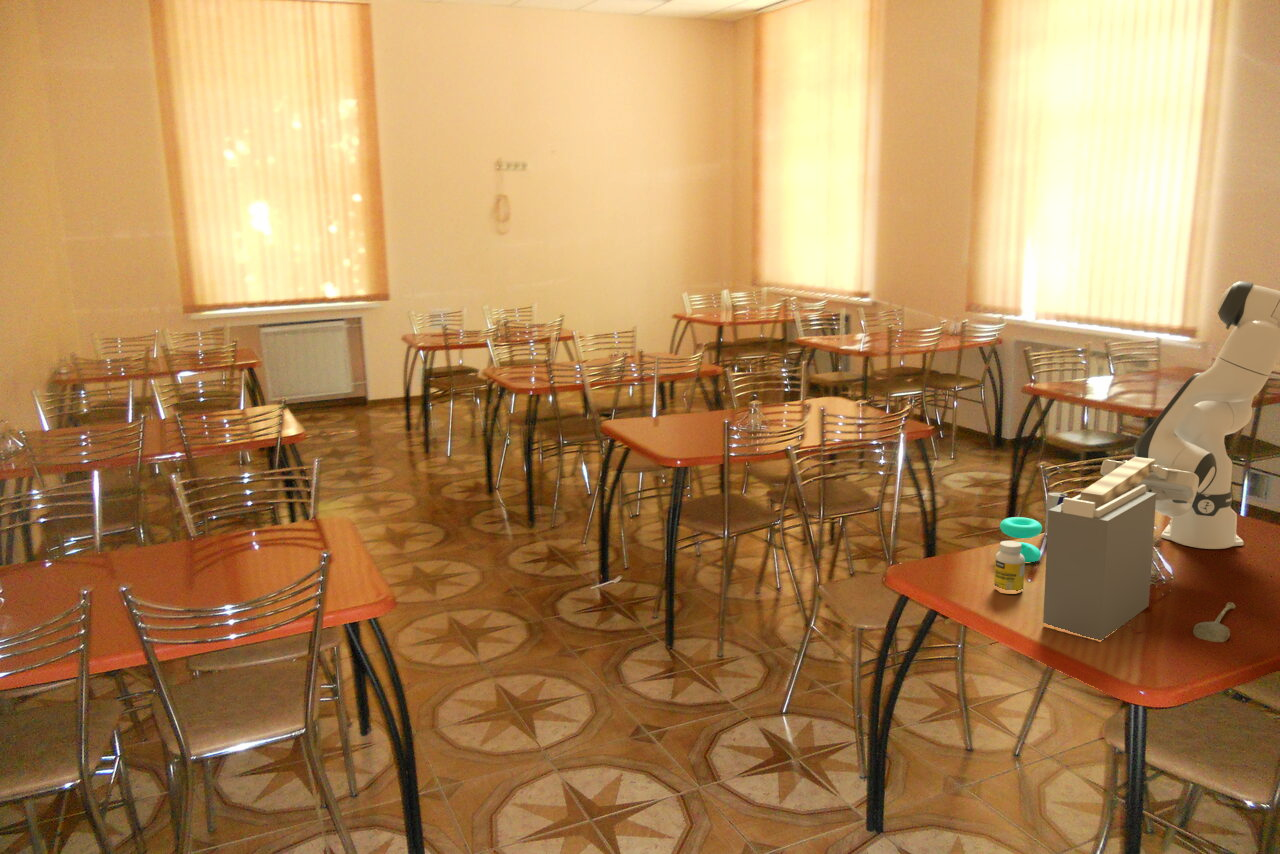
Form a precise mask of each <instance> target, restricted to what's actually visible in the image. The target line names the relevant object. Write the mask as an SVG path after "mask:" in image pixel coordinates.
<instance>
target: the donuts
mask: <svg viewBox="0 0 1280 854" xmlns="http://www.w3.org/2000/svg"><path fill="white" fill-rule="evenodd" d="M999 528H1000V530H1001V532H1002V533H1004V534H1005V535H1006V536H1008V537H1011V538H1015V539H1032V538H1035V537H1037V536H1039V535H1040V534H1041V532H1042V531H1043V526H1042V524H1041V522H1039V521H1038V520H1037V519H1036V520H1035V519H1034V518H1028V517H1022V516H1019V517H1018V516H1014V517H1013V516H1012V517H1007V518H1004V519H1003V520H1001V522H1000V524H999ZM1018 542H1019V543H1021V551H1020V553H1021V554H1022V555H1023V556H1024V558H1025V562H1034V563H1036V562H1038V561H1039V560H1040V559H1041V556H1042V553H1041V550H1040V549H1039V548H1038V547H1037V546H1035V545H1034V544H1031V543H1028V542H1021V541H1018ZM1000 551H1001V549H1000V548H999V551H998V552H1000ZM1035 561H1036V562H1035Z"/></svg>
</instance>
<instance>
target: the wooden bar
mask: <svg viewBox="0 0 1280 854" xmlns="http://www.w3.org/2000/svg"><path fill="white" fill-rule="evenodd" d="M1126 461H1127V462H1126V463H1124V464H1123V465H1121V466H1120V467H1118V468H1117V469H1115V470H1114V471H1112V472H1111V473H1109V474H1107V475H1106V476H1103V477H1101V478H1100V479H1098V480H1097V481H1095V482H1094V483H1092V484H1090V485H1089V486H1087V487H1086V488H1084V489H1083V490H1081V491H1080V494H1081V497H1080V500H1083V501H1089V502H1095V508H1099V507H1101V506H1103V505H1105V504H1107V503H1109V502H1110V501H1112V500H1114V499H1116V498H1118V497H1120V496H1121V495H1123V494H1124V493H1126V492H1127V491H1128V490H1130V489H1134V488H1135V485H1137V484H1138V483H1140V482H1141V481H1143V480H1144V479H1145V478H1147V477H1148V476H1150V475H1151V474H1150V472H1149V468H1150V467H1149V466H1150V465H1155V459H1149V458H1141V457H1136V456H1134V457H1132V458H1131V459H1129V460H1126Z"/></svg>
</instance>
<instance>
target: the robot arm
mask: <svg viewBox="0 0 1280 854" xmlns="http://www.w3.org/2000/svg"><path fill="white" fill-rule="evenodd" d="M1217 309H1218V311H1217V315H1218V318H1219V319H1220V321H1221V322H1222V323H1224V324H1225V325H1226V326H1225V329H1226V330H1229V329H1230V327H1231V326H1233V328H1232V330H1231V332H1230V334H1229V335H1228V337H1227V338H1226V340H1225V342H1224V344H1223V346H1222V347H1221V349H1220V351H1219V352H1218V355H1217V357H1216V359H1215V360H1214V362H1213V363H1212V366H1211V367H1209V368H1208V369H1206V370H1205V371H1203V372H1197V373H1194V374H1193V375H1191V377H1189V378H1188V379H1187V380H1186V381H1185V382H1184V384H1183V385H1182V386H1181V387H1180V388H1179V389H1178V391H1177V392H1176V393H1175V394H1174V395H1173V396H1172V398H1171V400H1170V401H1169V402H1168V403H1167V404H1166V406H1165V407H1164V409H1163V410H1162V411H1161V412H1160V413H1159V415H1158V416H1157V417H1156V418H1155V420H1154V421H1153V423H1152V424H1151V425H1150V426H1149V427H1148V428H1146V429H1145V431H1144V432H1143V433H1142V434H1141V435H1140V436H1139V437H1138V439H1137V440H1136V441H1135V444H1134V447H1133V449H1134V450H1133V451H1134V455H1135V457H1141V458H1149V459H1155V465H1150V466H1149V467H1150V468H1149V472H1150V474H1151V475H1150V476H1148V477H1147V478H1145V479H1144V480H1143V481H1141V482H1140V483H1138V484H1137V485H1135V486H1134V489H1135V488H1136V487H1138V486H1140V485H1142V484H1143V485H1146V492H1151V493H1156V506H1155V512H1158V513H1159V514H1161V515H1163V516H1166V517H1168V518H1170V520H1169V522H1168V525H1167V526H1165V528H1164V529H1163V531H1162V532H1161V534H1160V535H1161V538H1162V539H1164V540H1169V541H1172V542H1175V543H1176V544H1180V545H1183V546H1185V547H1187V546H1188V547H1191V548H1197V549H1205V550H1207V549H1208V550H1221V549H1222V550H1223V549H1228V548H1232V547H1239V546H1244V540H1243V539H1242V538H1241V537H1239V535H1238V534H1237V525H1238V524H1237V523H1238V522H1237V521H1238V519H1237V518H1238V514H1237V513H1236V512H1235V510H1233V509H1232V500H1233V491H1232V490H1231V488H1232V487H1231V484H1232V475H1233V474H1232V473H1233V462H1232V461H1233V460H1232V459H1231V458H1230V457H1229V456H1228V453H1227V449H1226V445H1225V438H1226V436H1228V435H1231V434H1234V433H1237V432H1238V431H1240V430H1242V429H1243V428H1244V427H1245V426H1246V425H1247V424H1249V423H1250V422H1251V420H1252V416H1253V408H1252V404H1253V401H1254V397H1256V396H1257V395H1258V394H1259V393H1260V391H1261V390H1262V389H1263V387H1264V386H1265V385H1266V383H1267V381H1268V380H1269V377H1270V376H1271V374H1272V372H1273V370H1274V368H1275V366H1276V364H1277V362H1278V360H1279V357H1280V290H1278V289H1273V288H1269V287H1266V286H1262V285H1256V284H1254V282H1249V281H1242V280H1241V281H1237V282H1234V283H1233V284H1232V285H1231V286H1229V287H1227V289H1226V290H1225V291H1224V292H1223V293H1222V295H1221V296H1220V299H1219V300H1218V307H1217ZM1127 461H1128V460H1122V461H1120V460H1119V461H1117V460H1112V459H1111V460H1110V459H1105V460H1103V461H1102V464H1101V467H1100V475H1102V476H1103V477H1104V476H1106V475H1107V474H1109V473H1111V472H1112V471H1114V470H1115V469H1117V468H1118V467H1120V466H1121V465H1123V464H1124V463H1126V462H1127Z"/></svg>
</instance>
